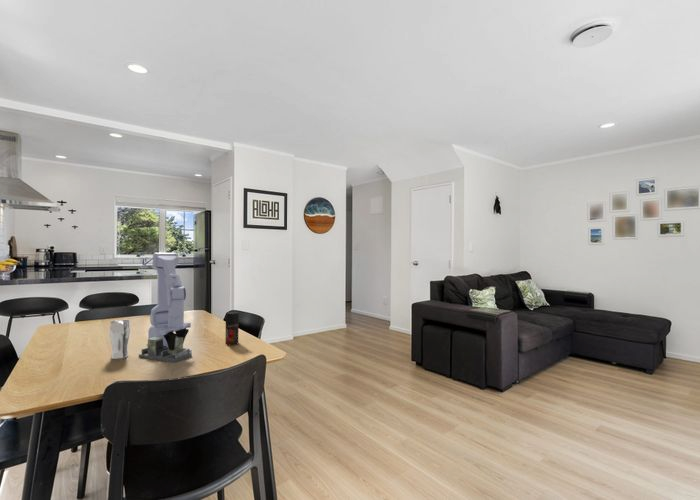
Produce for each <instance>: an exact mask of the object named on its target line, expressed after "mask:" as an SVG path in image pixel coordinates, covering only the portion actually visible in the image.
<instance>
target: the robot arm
mask: <svg viewBox="0 0 700 500" xmlns="http://www.w3.org/2000/svg"><path fill="white" fill-rule="evenodd" d="M178 264H179V254H178V253H177V252H156V251H155V252H154V253H153V254H152V270H155V271H156V273H157V304H156V305H155V306H154V307H152V309H150V316H149V322H150V325H151V326H150V327H149V329H148V331H147V333H148V334H147V336H148V337H147V340H148V339H150V338H153V337H161V338H163V345H164V346H168V348H169V350H174V348H175V339H176V337H183V344H184V342H185V340H186V337H187V335H188V333H189V330H190V329H188V328H191V325H192V324H191V322H185V321H184V318H185V317H184V315H185V314H184V313H185V309H184V308H185V300H186V298H187V292H186V291H187V290H186V287H185V286H184V284H182V281H181V278H180V276H179V275H178V274H177V272H176V267H177V265H178ZM146 345H147V346H148V343H146Z"/></svg>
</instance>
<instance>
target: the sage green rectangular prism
mask: <svg viewBox="0 0 700 500" xmlns="http://www.w3.org/2000/svg"><path fill="white" fill-rule="evenodd" d="M183 348H184V343H183V337H177V336H176V339H175V348H174V350H169V348H168V353H170V354H175V353H178V352H181V351H183Z"/></svg>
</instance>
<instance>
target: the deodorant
mask: <svg viewBox="0 0 700 500" xmlns="http://www.w3.org/2000/svg"><path fill="white" fill-rule="evenodd" d="M239 315H240V313H239V312H238V311H227V312H225V339H224V340H225V345H226V344H227V345H226V346H234V345H233V344H237V343H238V344H239V328H240V327H239V318H240V317H239ZM238 344H237V345H238Z"/></svg>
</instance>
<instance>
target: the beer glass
mask: <svg viewBox="0 0 700 500" xmlns="http://www.w3.org/2000/svg"><path fill="white" fill-rule="evenodd" d="M130 331H131V329H130V320H128V319H117V320H112V321H110V325H109V338H110V345H111V356H110V359H111V360H123V359H126V358H128V357H129V352H128V346H129V345H128V344H129V340H130V334H131V332H130Z"/></svg>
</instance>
